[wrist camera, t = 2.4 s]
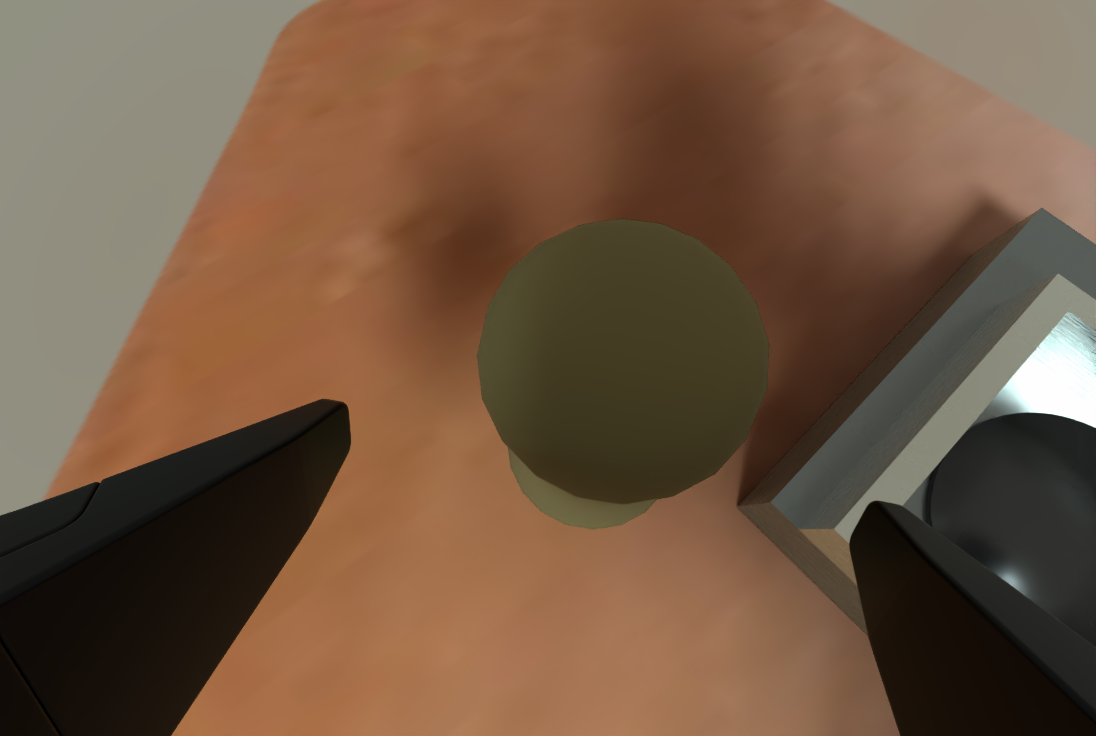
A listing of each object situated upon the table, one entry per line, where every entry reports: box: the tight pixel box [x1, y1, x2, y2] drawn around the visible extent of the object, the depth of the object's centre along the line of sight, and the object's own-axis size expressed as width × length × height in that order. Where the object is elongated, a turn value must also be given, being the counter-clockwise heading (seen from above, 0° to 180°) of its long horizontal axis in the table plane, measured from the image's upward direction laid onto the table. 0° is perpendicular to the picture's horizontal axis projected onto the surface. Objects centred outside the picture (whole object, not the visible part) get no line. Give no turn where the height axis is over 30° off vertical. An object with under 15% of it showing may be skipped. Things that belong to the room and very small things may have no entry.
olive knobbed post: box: [477, 219, 769, 529], centre depth 13 cm, size 6×6×11 cm
